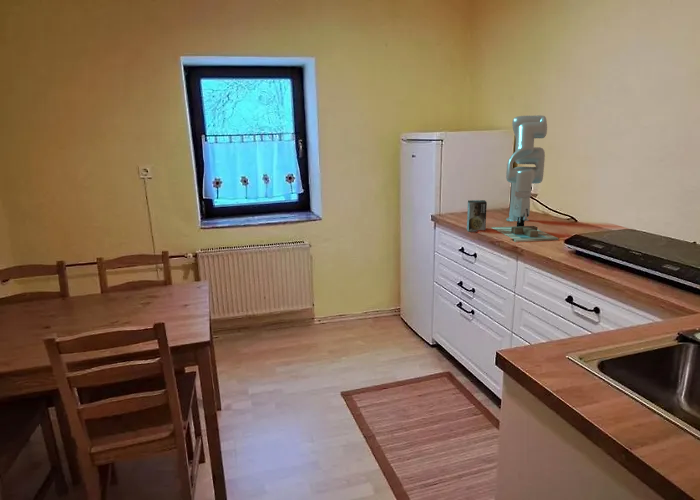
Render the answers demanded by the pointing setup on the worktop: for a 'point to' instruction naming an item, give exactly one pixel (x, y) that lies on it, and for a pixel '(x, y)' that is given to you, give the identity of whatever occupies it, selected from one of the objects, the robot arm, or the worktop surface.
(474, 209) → the coffee box
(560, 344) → the worktop surface
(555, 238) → the board
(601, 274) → the worktop surface
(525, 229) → the t block
